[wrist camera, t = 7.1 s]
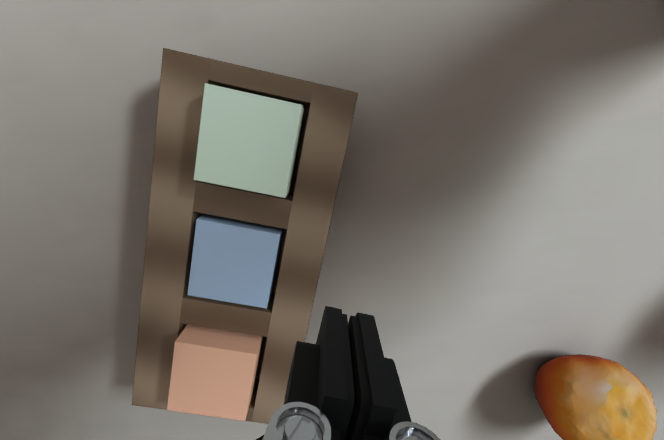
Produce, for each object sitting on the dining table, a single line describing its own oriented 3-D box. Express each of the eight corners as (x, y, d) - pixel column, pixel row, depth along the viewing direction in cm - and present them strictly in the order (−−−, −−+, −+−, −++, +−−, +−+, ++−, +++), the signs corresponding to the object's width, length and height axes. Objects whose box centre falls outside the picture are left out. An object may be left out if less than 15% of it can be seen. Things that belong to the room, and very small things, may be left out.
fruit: (520, 440, 30) (589, 478, 23) (507, 349, 33) (567, 357, 25) (602, 441, 31) (697, 479, 23) (584, 351, 33) (665, 359, 26)
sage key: (220, 91, 21) (204, 83, 18) (304, 110, 22) (302, 104, 19) (209, 175, 23) (193, 179, 20) (289, 191, 23) (285, 197, 20)
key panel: (189, 64, 23) (163, 47, 19) (351, 101, 24) (358, 92, 20) (157, 369, 29) (131, 404, 25) (291, 389, 30) (286, 426, 26)
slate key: (211, 210, 25) (196, 218, 22) (284, 224, 25) (280, 234, 22) (202, 278, 26) (187, 295, 23) (272, 290, 26) (266, 308, 23)
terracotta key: (191, 318, 25) (174, 341, 22) (264, 330, 25) (257, 354, 23) (183, 380, 26) (167, 410, 23) (253, 390, 27) (245, 420, 24)
